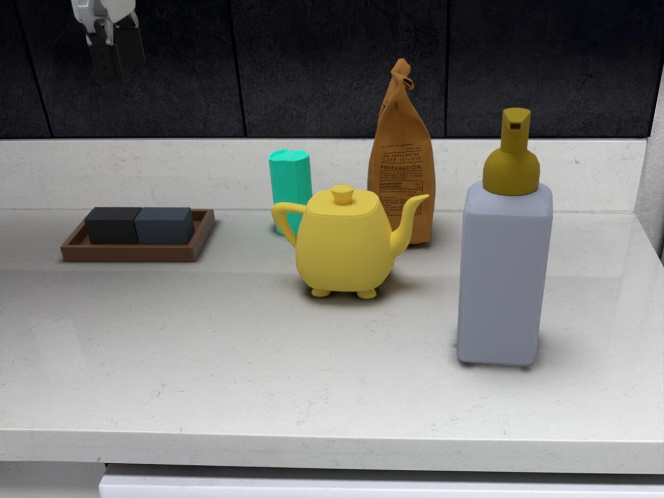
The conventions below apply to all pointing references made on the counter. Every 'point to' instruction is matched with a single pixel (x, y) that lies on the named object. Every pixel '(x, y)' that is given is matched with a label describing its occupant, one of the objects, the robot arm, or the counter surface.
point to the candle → (291, 181)
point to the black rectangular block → (112, 225)
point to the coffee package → (403, 158)
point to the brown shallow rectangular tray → (139, 245)
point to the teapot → (345, 239)
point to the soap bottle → (504, 253)
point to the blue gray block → (164, 225)
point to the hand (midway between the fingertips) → (122, 72)
